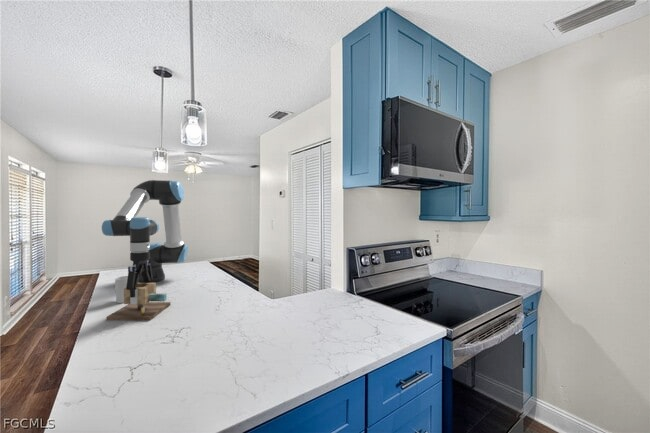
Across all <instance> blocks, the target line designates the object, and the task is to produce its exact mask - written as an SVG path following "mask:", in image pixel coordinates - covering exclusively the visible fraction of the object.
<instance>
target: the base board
mask: <svg viewBox="0 0 650 433" xmlns="http://www.w3.org/2000/svg"><path fill="white" fill-rule="evenodd" d="M171 303H172V302H171V301H164V302H158V301H149V302H148V303H146V304H144V307H145V315H144V316H141V310H137V304H125V306H123V307H121V308H119V309H117V310H115V311H114V312H112V313H110V314H108V315H107V316H106V319H105V320H106V321H151V320H152V319H154V318H155V317H157V316H158V315H159V314H161V313H162V312H163V311H164V310H166V309H167V308H169V307H170V306H171V305H172V304H171Z"/></svg>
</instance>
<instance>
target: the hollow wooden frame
mask: <svg viewBox="0 0 650 433" xmlns="http://www.w3.org/2000/svg"><path fill="white" fill-rule="evenodd" d="M136 289H138V304H146V303H148V302H167V293H157V283H156V282H152V283H140V282H138V284H137V287H136ZM123 304H124V305H128V304H130V290H126V288H124V303H123Z"/></svg>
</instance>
